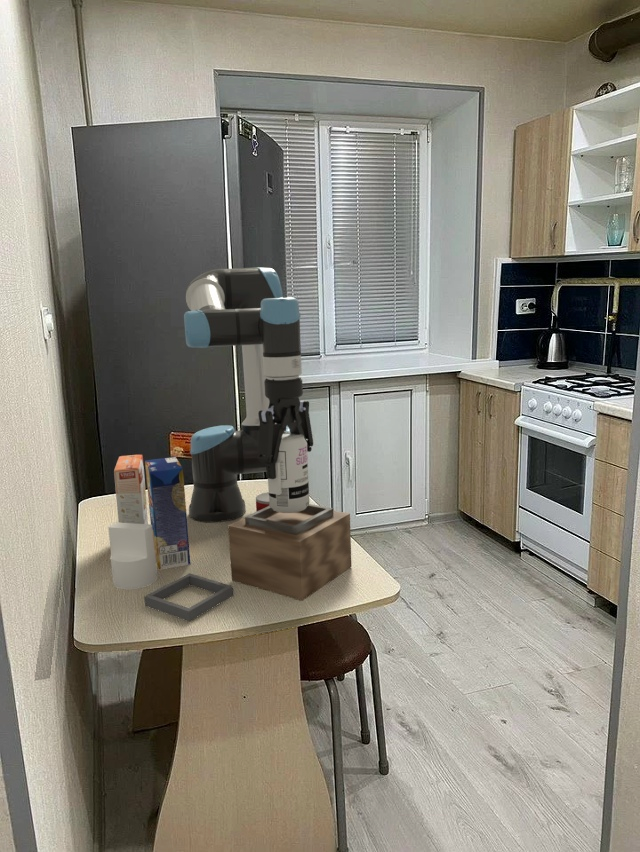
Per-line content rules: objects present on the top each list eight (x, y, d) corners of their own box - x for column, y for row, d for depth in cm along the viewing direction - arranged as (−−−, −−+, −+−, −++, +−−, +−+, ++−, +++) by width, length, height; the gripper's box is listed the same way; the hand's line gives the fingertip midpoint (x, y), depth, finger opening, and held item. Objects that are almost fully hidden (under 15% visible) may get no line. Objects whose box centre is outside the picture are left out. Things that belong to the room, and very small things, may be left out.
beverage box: (183, 547, 155) (175, 456, 150) (190, 564, 145) (182, 468, 140) (153, 552, 152) (144, 460, 148) (159, 569, 142) (150, 472, 138)
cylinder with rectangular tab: (104, 587, 135) (98, 532, 132) (128, 569, 143) (122, 517, 141) (143, 591, 132) (138, 535, 130) (165, 572, 141) (160, 519, 138)
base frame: (190, 582, 136) (189, 573, 135) (233, 595, 129) (233, 586, 129) (145, 605, 126) (144, 596, 126) (189, 621, 119) (188, 611, 119)
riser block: (284, 550, 150) (281, 494, 147) (351, 566, 140) (349, 506, 137) (231, 580, 136) (227, 518, 133) (302, 600, 126) (299, 534, 123)
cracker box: (148, 555, 150) (140, 467, 146) (121, 558, 149) (111, 470, 145) (150, 534, 164) (143, 453, 160) (125, 536, 163) (117, 455, 159)
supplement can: (269, 502, 139) (265, 433, 136) (308, 500, 139) (305, 431, 136) (269, 515, 131) (265, 442, 128) (311, 512, 131) (307, 439, 128)
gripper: (264, 385, 119) (270, 504, 124) (328, 371, 136) (332, 477, 140) (233, 383, 123) (240, 499, 128) (299, 370, 140) (303, 472, 145)
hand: (288, 487), depth 134 cm, fingers closed on supplement can, 8 cm apart
